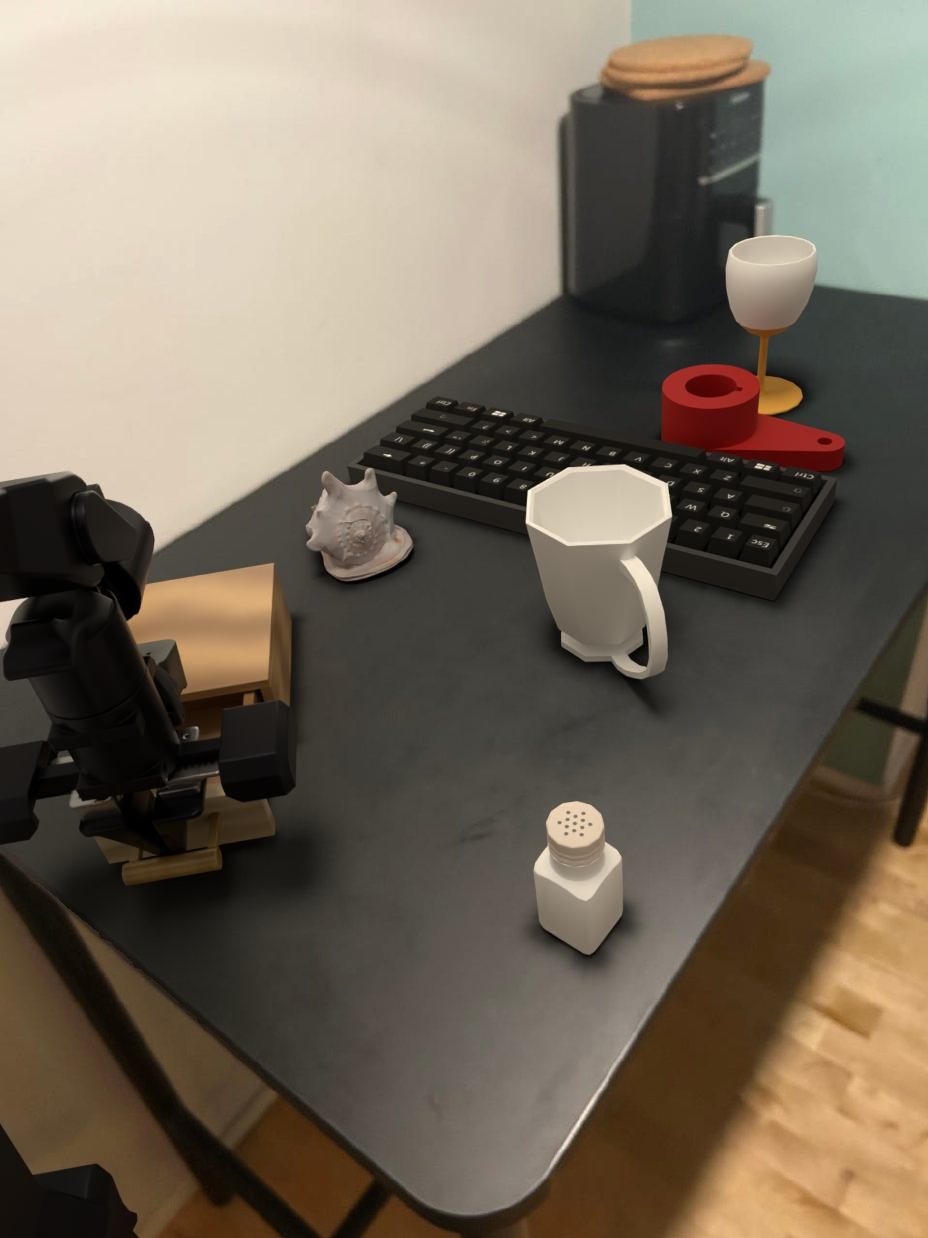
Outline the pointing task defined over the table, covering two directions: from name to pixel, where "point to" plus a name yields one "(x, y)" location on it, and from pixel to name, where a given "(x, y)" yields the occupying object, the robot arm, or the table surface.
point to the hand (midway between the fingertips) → (180, 855)
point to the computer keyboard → (539, 449)
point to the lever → (739, 421)
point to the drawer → (218, 819)
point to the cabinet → (223, 631)
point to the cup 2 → (771, 301)
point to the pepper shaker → (578, 878)
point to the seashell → (356, 529)
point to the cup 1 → (603, 561)
